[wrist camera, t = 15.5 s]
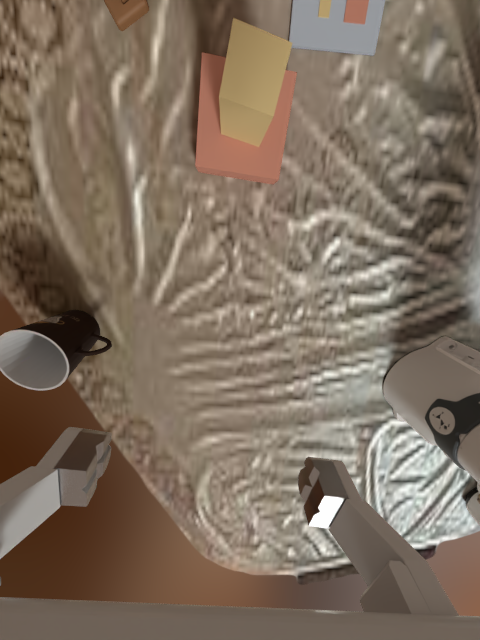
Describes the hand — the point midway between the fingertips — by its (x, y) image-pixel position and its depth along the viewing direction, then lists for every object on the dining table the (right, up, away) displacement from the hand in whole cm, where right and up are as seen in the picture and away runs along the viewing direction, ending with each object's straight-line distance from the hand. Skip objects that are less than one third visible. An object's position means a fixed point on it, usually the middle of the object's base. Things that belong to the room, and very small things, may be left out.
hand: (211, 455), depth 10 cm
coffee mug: (-23, +4, +29) cm, 37 cm away
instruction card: (+12, +40, +16) cm, 44 cm away
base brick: (+1, +29, +20) cm, 36 cm away
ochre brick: (+2, +28, +16) cm, 33 cm away
